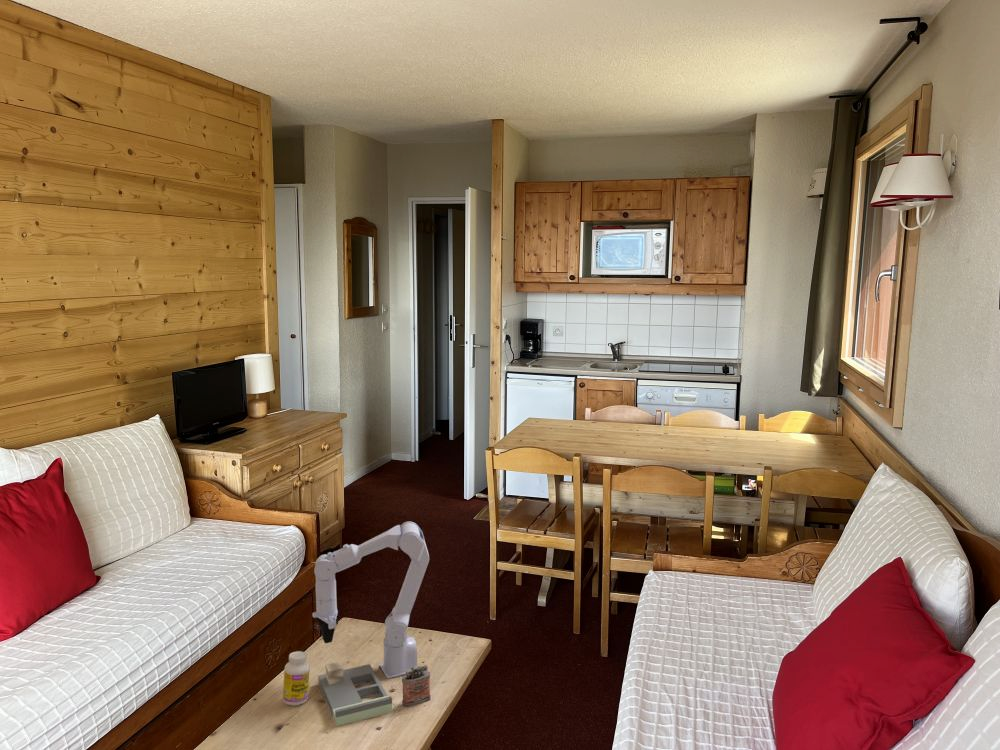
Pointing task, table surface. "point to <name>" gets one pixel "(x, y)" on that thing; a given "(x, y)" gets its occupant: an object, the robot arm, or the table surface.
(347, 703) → the grey divided tray
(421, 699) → the ornate red tin
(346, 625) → the table surface
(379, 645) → the table surface
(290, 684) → the supplement bottle
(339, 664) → the block
